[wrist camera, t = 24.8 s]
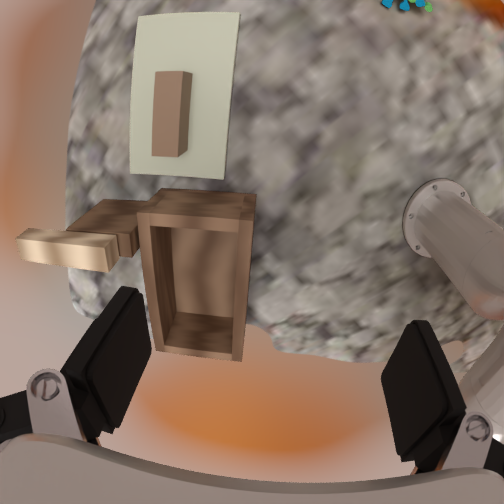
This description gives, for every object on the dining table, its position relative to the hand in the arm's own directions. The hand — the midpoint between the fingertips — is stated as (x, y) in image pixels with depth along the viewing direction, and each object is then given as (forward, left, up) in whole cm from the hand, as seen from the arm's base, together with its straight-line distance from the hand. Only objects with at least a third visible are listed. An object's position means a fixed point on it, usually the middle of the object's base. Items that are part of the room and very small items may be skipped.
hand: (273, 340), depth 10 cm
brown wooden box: (+13, +16, -31) cm, 37 cm away
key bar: (+23, +9, -20) cm, 32 cm away
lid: (+12, -8, -32) cm, 35 cm away
